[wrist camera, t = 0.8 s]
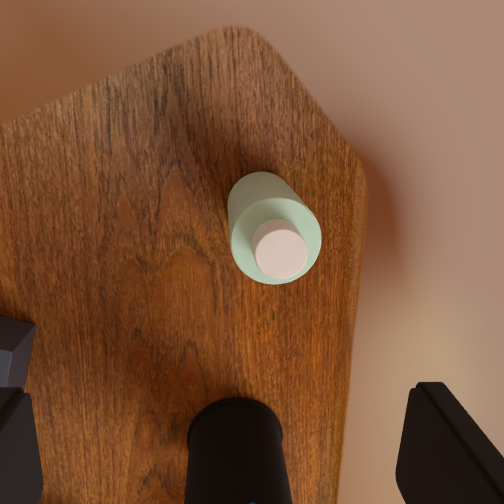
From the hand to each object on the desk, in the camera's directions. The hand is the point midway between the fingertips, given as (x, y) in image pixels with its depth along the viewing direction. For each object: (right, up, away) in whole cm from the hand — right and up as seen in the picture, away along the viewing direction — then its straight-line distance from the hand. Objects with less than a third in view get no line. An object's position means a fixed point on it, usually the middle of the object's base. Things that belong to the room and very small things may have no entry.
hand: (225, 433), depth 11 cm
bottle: (+1, +8, +21) cm, 22 cm away
